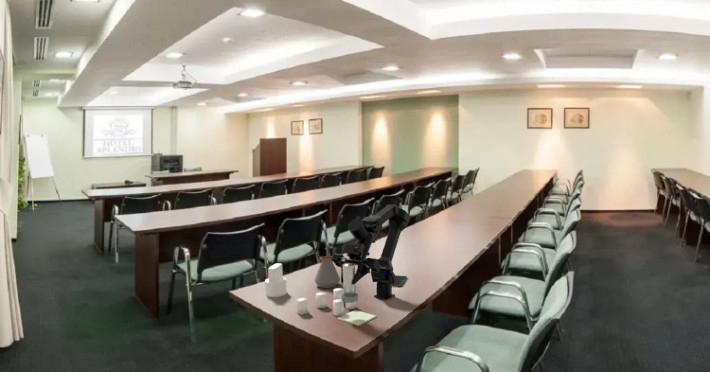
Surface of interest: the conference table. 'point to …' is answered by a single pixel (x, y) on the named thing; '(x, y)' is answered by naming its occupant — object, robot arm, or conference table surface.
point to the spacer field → (321, 303)
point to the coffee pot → (327, 272)
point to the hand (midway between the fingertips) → (347, 283)
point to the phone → (399, 280)
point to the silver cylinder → (349, 284)
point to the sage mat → (356, 317)
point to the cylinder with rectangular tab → (275, 282)
